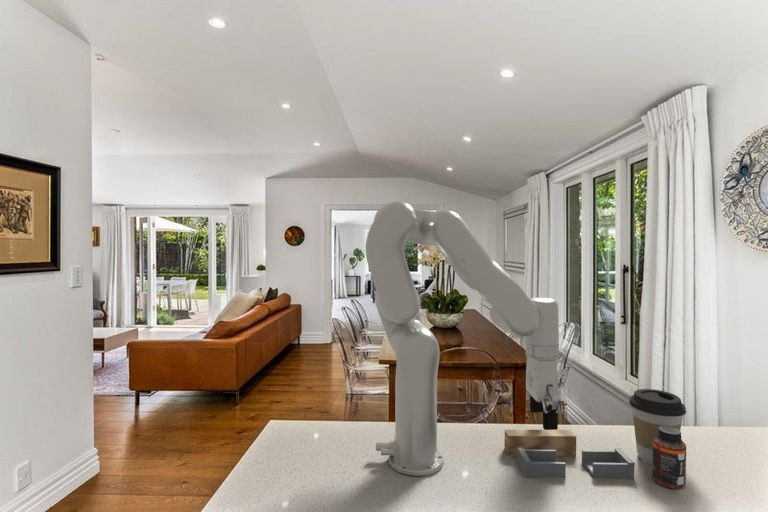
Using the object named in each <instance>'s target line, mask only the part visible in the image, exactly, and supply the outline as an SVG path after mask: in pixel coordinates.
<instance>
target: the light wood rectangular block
mask: <svg viewBox="0 0 768 512" xmlns="http://www.w3.org/2000/svg"><path fill="white" fill-rule="evenodd" d="M503 448H504V450H505V453H506V455H507V456H510V457H512V456H515V457H516V456H517V457H518V448H523V449H529V450H556V457H576V456H577V435H576V434H575V433H574V432H573V431H572V430H571V429H557V430H544V429H504V447H503Z"/></svg>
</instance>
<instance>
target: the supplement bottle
mask: <svg viewBox="0 0 768 512" xmlns="http://www.w3.org/2000/svg"><path fill="white" fill-rule="evenodd" d="M658 434H659V435H658V436H656V437H654V439H653V463H652V464H651V465H652V467H651V468H652V469H651V475H652V479H653V480H654V481H655V482H656V483H657V484H659V485H660V486H662V487H665V488H668V489H673V490H681V489H683V488H684V487H685V486H686V481H687V479H686V476H687V445H686V444H687V443H685V442H684V441H683V440H682V431H681V430H680V431H679V430H678V429H676V428H672V427H667V426H662V427H659V432H658Z"/></svg>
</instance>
